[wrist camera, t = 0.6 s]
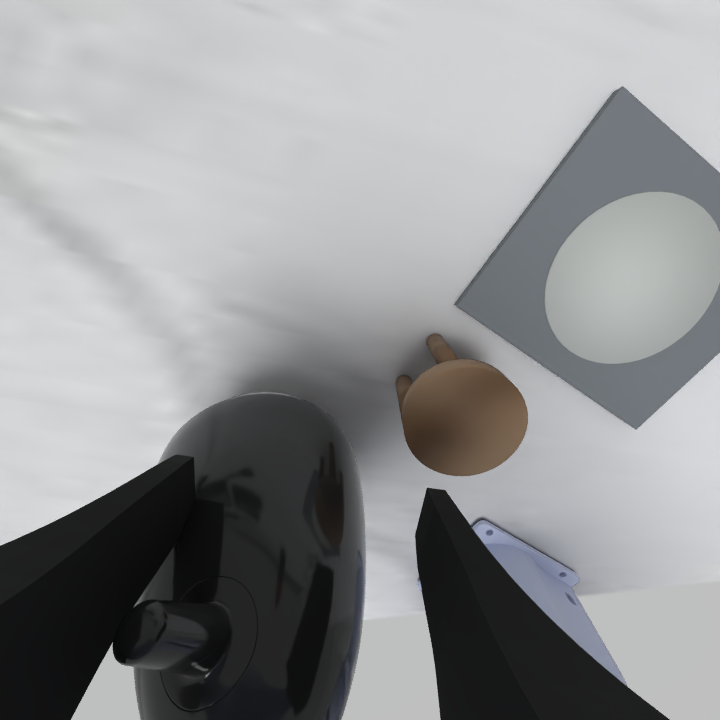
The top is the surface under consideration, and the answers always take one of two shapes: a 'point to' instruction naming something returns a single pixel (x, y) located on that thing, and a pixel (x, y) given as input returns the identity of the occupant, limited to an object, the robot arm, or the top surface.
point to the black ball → (256, 572)
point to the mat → (613, 265)
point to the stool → (460, 414)
